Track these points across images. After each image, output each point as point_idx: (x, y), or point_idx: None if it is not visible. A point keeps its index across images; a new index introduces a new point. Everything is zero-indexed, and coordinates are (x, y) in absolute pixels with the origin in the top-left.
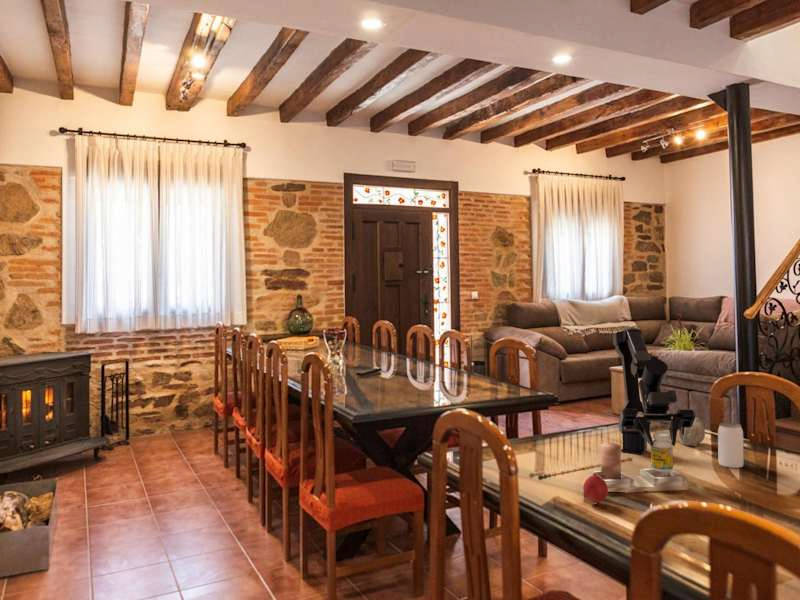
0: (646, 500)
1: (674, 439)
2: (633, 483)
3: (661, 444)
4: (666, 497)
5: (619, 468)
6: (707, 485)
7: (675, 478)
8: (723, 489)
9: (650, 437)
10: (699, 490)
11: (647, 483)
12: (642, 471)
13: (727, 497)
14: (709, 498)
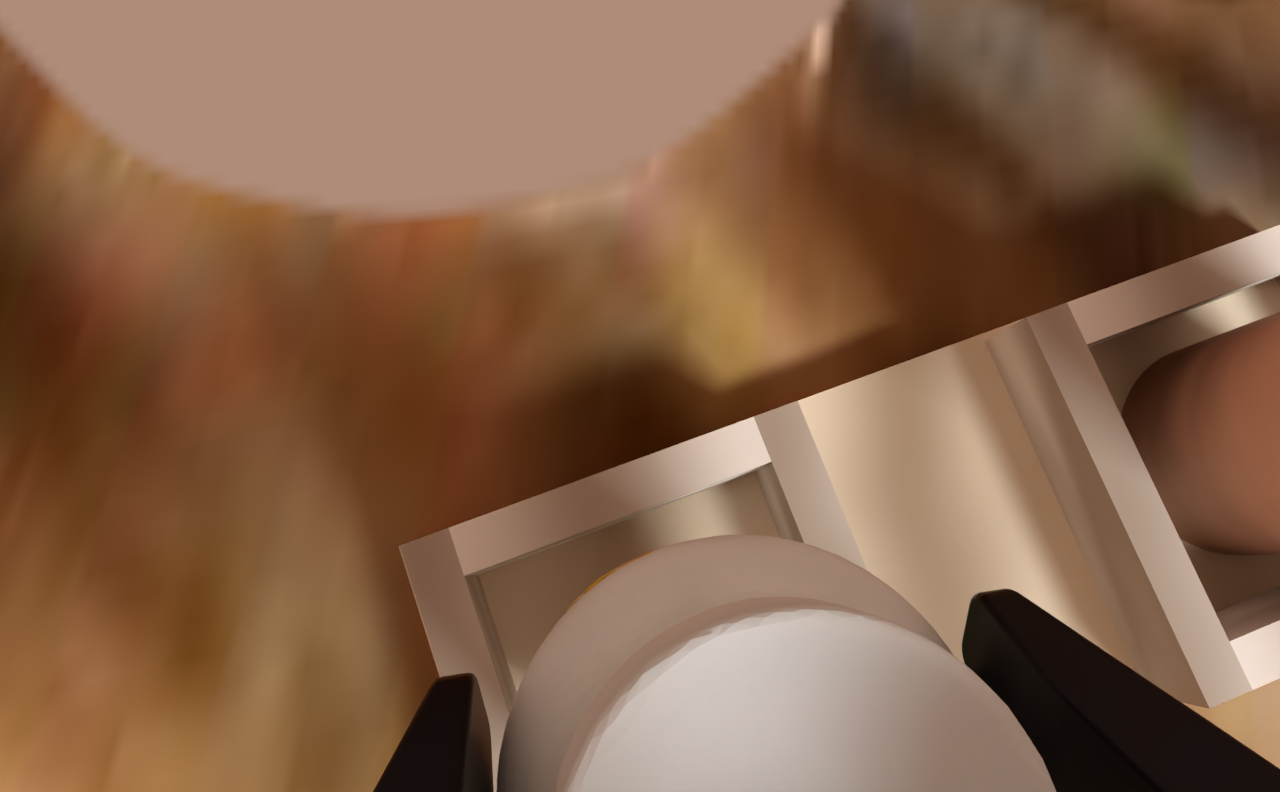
0: (853, 138)
1: (420, 771)
2: (1009, 327)
3: (777, 558)
4: (667, 256)
5: (1272, 343)
6: (158, 766)
7: (538, 497)
8: (17, 649)
9: (1110, 698)
10: (297, 551)
11: (845, 505)
12: None
13: (66, 378)
14: (258, 310)
